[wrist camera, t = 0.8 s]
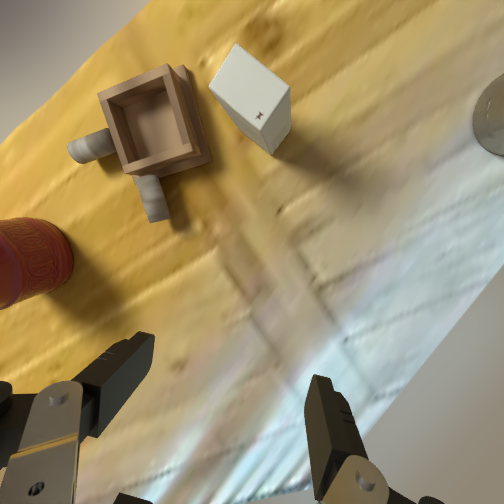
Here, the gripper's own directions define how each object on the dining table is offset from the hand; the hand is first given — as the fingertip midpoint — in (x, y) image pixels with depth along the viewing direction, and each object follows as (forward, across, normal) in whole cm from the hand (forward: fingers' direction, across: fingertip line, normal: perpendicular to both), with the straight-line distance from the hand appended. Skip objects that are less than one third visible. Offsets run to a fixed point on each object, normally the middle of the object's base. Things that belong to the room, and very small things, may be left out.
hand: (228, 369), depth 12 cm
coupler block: (+25, +19, -11) cm, 33 cm away
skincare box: (+24, +3, -18) cm, 30 cm away
